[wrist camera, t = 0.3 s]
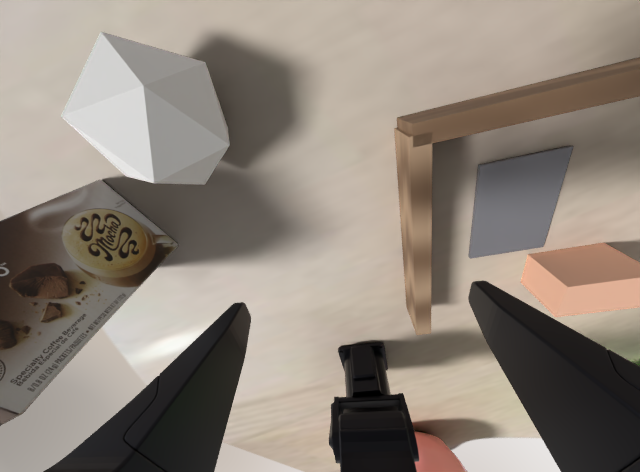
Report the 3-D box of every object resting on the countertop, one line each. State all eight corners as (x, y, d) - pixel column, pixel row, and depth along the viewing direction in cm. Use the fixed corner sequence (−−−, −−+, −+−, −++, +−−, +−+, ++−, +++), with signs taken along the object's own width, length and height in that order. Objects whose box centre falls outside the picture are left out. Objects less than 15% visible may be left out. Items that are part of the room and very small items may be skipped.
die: (223, 36, 17) (10, -45, 10) (278, 141, 17) (96, 137, 9) (190, 117, 22) (38, 103, 15) (231, 197, 22) (94, 222, 15)
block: (589, 271, 26) (640, 307, 22) (519, 281, 27) (555, 317, 23) (602, 242, 24) (661, 274, 20) (527, 253, 25) (567, 287, 21)
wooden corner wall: (611, 279, 26) (653, 307, 23) (406, 306, 30) (416, 335, 26) (741, 32, 16) (857, 16, 12) (393, 118, 19) (408, 124, 15)
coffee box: (68, 211, 24) (-278, 374, 10) (102, 176, 22) (-273, 321, 8) (146, 270, 28) (-30, 446, 14) (182, 245, 26) (16, 422, 12)
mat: (541, 245, 24) (543, 246, 24) (468, 256, 25) (469, 258, 25) (570, 145, 19) (573, 146, 19) (478, 164, 20) (480, 165, 20)
